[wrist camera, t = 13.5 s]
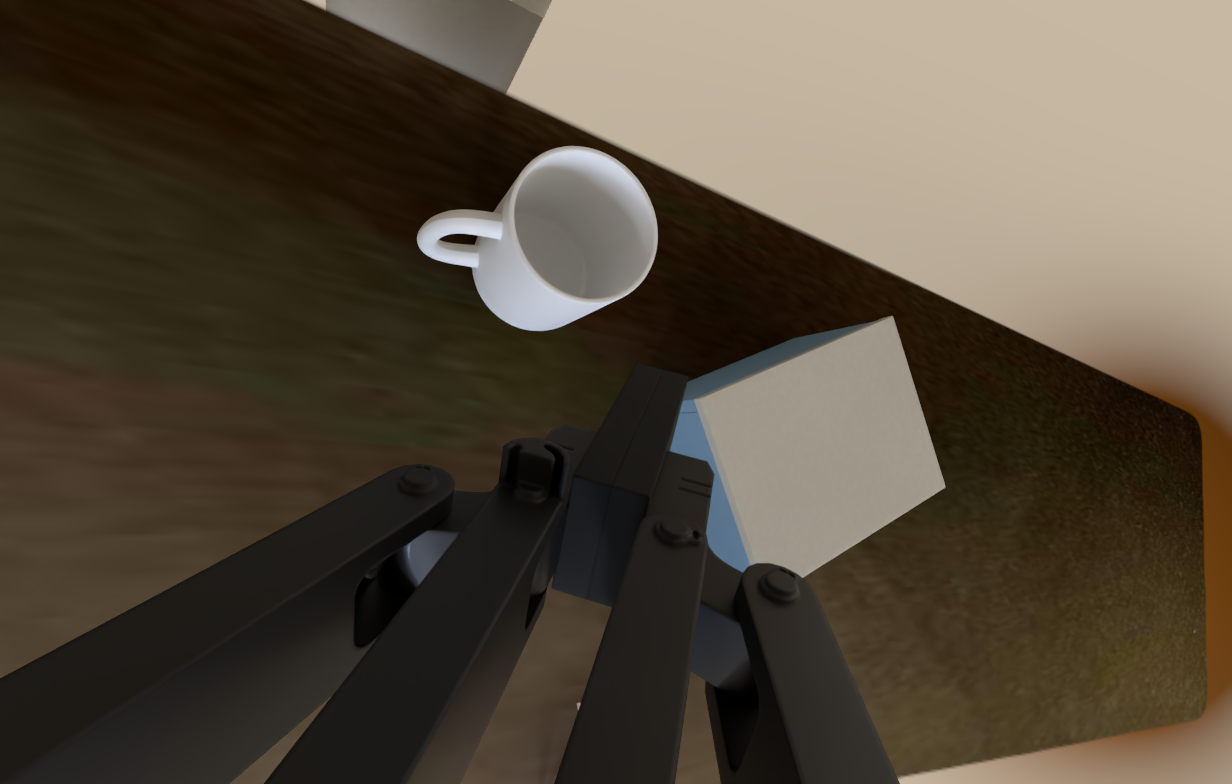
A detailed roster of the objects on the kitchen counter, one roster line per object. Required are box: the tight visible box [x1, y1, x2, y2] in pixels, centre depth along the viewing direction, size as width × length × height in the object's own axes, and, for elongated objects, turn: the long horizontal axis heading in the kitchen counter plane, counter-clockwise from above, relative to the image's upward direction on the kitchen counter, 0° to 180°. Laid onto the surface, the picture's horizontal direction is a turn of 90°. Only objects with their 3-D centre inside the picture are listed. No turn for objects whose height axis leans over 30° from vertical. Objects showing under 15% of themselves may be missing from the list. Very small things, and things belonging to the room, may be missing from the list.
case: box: [670, 322, 872, 572], centre depth 43 cm, size 16×13×8 cm
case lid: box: [694, 316, 945, 578], centre depth 39 cm, size 16×13×1 cm
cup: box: [417, 146, 658, 331], centre depth 36 cm, size 8×12×10 cm
